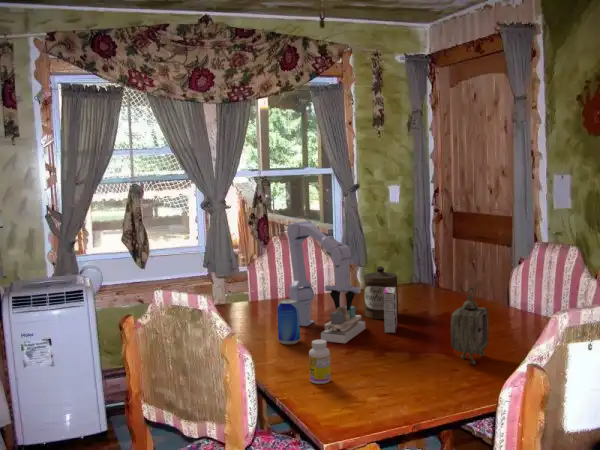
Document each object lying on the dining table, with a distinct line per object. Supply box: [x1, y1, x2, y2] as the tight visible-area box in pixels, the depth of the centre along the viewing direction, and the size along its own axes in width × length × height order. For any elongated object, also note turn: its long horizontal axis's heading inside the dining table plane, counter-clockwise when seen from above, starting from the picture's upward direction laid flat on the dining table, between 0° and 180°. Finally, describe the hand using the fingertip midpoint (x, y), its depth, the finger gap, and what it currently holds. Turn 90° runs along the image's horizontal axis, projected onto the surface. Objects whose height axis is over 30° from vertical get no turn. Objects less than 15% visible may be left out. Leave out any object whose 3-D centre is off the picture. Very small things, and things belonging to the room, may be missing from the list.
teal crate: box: [343, 305, 356, 318], centre depth 253 cm, size 4×4×4 cm
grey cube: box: [330, 311, 345, 325], centre depth 244 cm, size 4×4×4 cm
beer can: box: [276, 298, 301, 345], centre depth 241 cm, size 8×8×16 cm
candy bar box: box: [383, 287, 398, 334], centre depth 254 cm, size 11×5×16 cm, turn 168°
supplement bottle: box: [308, 339, 332, 385], centre depth 197 cm, size 7×7×13 cm
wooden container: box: [363, 266, 399, 320], centre depth 277 cm, size 15×15×22 cm
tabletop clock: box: [450, 287, 490, 366], centre depth 213 cm, size 14×9×25 cm, turn 148°
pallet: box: [324, 305, 362, 332], centre depth 248 cm, size 8×19×7 cm, turn 154°
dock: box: [320, 320, 366, 344], centre depth 249 cm, size 10×22×3 cm, turn 154°
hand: (343, 309), depth 248 cm, fingers closed on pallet, 4 cm apart
